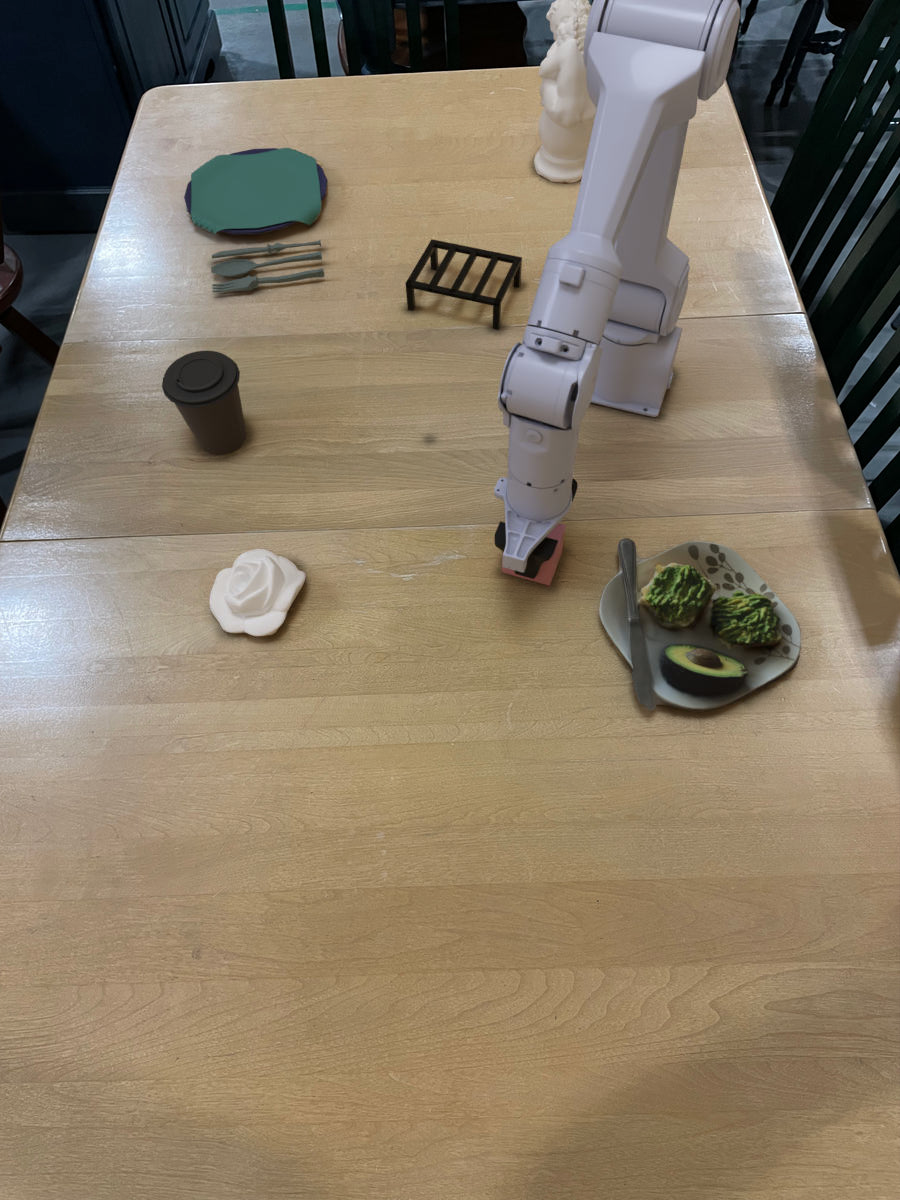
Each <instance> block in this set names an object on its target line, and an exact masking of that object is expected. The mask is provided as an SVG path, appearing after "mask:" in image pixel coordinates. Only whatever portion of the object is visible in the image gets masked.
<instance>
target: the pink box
mask: <svg viewBox="0 0 900 1200" xmlns="http://www.w3.org/2000/svg"><path fill="white" fill-rule="evenodd" d="M566 527H567V526H566V524H563V523H561V522H560V523H559V524H558V525H557V526H556V527H555V528H554V529H553V530H552V531H551V532H550V533H549V534H548V535H547V536H546V537H548V538H551V539H555V540H558V543H557V546H556V548H555V551H554V554H553V555H552V557H551V558H550V560H548V561H545V562H544V563H542V565H541V567H540V569H539V572H538V574H537V576H536V577H535V578H534V579H531V578H528V577H524V576H521V575H517V574H515V572H514V570H511V569H508V568H505V567H503V566H502V565H503V557H502V561H501V562H502V563H501V573H502V574H506V575H510V576H514V577H517V578H521V579H524V580H528V581H532V582H535V583H539V584H542V585H546V586H549V587H550V586H551V584H552V582H553V578H554V575H555V573H556V570H557V568H558V564H559V561H560V559H561V556H562V553H563V549H564V540H565V534H566ZM503 553H504V552H503V551H502V554H503Z"/></svg>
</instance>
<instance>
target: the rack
mask: <svg viewBox="0 0 900 1200" xmlns="http://www.w3.org/2000/svg"><path fill="white" fill-rule="evenodd" d="M424 249H425V250H424V251H423V252H422V255H421V256H420V257H419V259H418V261H417V263H416V265H414V267H413V270H411V271H412V272H411V273H410V274H409V276H408V278H407V280H405V293H406V304H407V305H406V306H407V311H412V312H414V311H415V309H416V308H417V307H416V294H415V290H418V291H422V292H427V293H431V294H436V295H440V296H446V297H450V298H455V299H460V300H464V301H469V302H472V303H478V304H484V305H487V306H492V329H493V330H497V331H500V328H501V324H502V323H501V322H502V302H503V301H504V298H505V296H506V294H507V292H508V290H509V288H510V286H511V284H512V287H513V288H516V289H520V287H521V285H522V268H523V267H522V266H523V257H521V256H518V255H514V254H513V255H511V254H506V253H502V252H497V251H493V250H487V249H482V248H477V247H473V246H468V245H462V244H459V243H452V242H447V241H443V240H437V239H433V238H431V239H430V241H429V243H428V244H427V246H426V248H424ZM438 249H440V250H444V251H447V252H446V253H445V255H444V257H443V259H442V261H441V262H440V264H439V253H438V252H439V251H438ZM456 253H459V254H464V255H468V257H467V258H466V260H465V262H464V264H463V266H462V268H461V269H460V271H459V273H458V275H457V276H456V279H455V280H454V282H453V283H452V286H451V287H445V286H440V285H439V283H440V282H441V280H442V278H443V276H444V275H445V273H446V271H447V270H448V267H449V266H450V264H451V262H452V261H453V258H454V257H455V256H456ZM479 257H480V258H483V259H489V262H488V263H487V265H486V267H485V270H484V271H483V273H482V275H481V277H480V279H479V281H478V283H477V285H476V286H475V289H474V290H473V291H472V292H469V291H466V290H465V291H464V290H460V289H461V288H462V285H463V283H464V281H465V280H466V278H467V276H468V274H469V272H470V270H471V269H472V267H473V265H474V263H475V261H476V259H477V258H479ZM429 260H430V270H431V271H435V273H434V275H433V276H432V278H431V279H430V281H429V283H427V282H423V281H418V278H419V276H420V275H421V273H422V271H423V270H424V268H425V266H426V265H427V263H428V261H429ZM498 262H504V263H508V264H511V265H510V268H509V269H508V271H507V273H506V276H505V277H504V279H503V281H502V283H501V285H500V286H499V289H498V291H497V293H496V295H495V297H493V296H489V295H484V294H482V293H483V291H484V289H485V287H486V286H487V284H488V281H489V280H490V278H491V277H492V275H493V272H494V270H495V268H496V266H497V265H498Z"/></svg>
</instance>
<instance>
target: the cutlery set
mask: <svg viewBox="0 0 900 1200" xmlns="http://www.w3.org/2000/svg"><path fill="white" fill-rule="evenodd" d="M327 187H328V178H327V176H326V174H325V172H324V169H323V167H322V166H321V165H319V164H318V163H317V158H315V157H313V156H312V155H308V154H307V153H303V152H302V151H299V150H297V149H295V148H294V149H293V148H291V147H281V148H280V147H279V148H276V147H268V148H267V147H266V148H251V149H246V150H241V151H236V152H232V153H230V154H219V155H216V156H214V157H213V158H211V159H210V160H208V161H206V162H205V163H204V164H202V165H201V166H199V167H198V168H196V169H195V170H194V171H193V172H191V173H190V180H189V182H188V183H187V185H186V189H185V192H184V196H183V198H184V202H185V207H186V210H187V212H188V213H189V214H190V217H191V220H192V222H193V224H194V225H195V226H197V227H198V228H202V229H203V230H206V231H208V232H209V233H211V234H213V235H216V234H217V232H220V233H227V234H232V235H259V234H264V233H269V232H272V231H273V232H274V231H279V230H282V229H284V228H287V227H289V226H291V225H294V224H296V223H298V222H301V223H303V224H305V225H308V226H311V225H312V224H313V223H314V222H315V221H316V220H317V219H318V218H319V216H320V214H321V211H322V201H323V200H324V198H325V197H326V193H327ZM266 245H267V246H258V247H257V246H256V247H245V248H235V249H228V250H221V251H218V252H215V253H213V254H212V255H211V258H212V259H213V260H214V259H219V258H221V259H222V258H228V257H229V258H230V257H235V256H236V257H237V256H244V255H252V254H260V253H267V254H268V255H269V256H271V253H273V252H276V253H279V252H281V251H284V250H286V249H292V248H299V247H308V246H309V247H310V246H319V247H322V242H321V239H319V240H315V241H309V242H301V243H299V242H298V243H297V242H296V243H295V242H294V243H286V244H285V243H279V242H275V243H274V244H273V245H271V244H270V243H267V244H266ZM322 260H323V254H322V251H316V252H310V253H304V254H297V255H291V256H286V257H282V258H278V259H274V260H269V261H264V262H261V263H256V262H255V261H252V260H249V259H247V258H232V259H228V260H224V261H220V262H218V263H216V264H214V265H213V266H210V273H212V274H214V275H217V276H221V277H223V278H237V279H233V280H229V281H225V282H221V283H212V284H211V285H212V287H211V288H212V290H211V291H212V293H216V294H217V293H219V294H221V293H228V292H245V291H251V290H254V289H256V288H258V287H259V285H261V284H282V283H290V282H297V281H302V280H307V279H314V278H315V279H316V278H325V276H326V275H325V270H324V268H322V267H321V268H317V269H311V270H304V271H300V272H296V273H291V274H286V275H285V274H284V275H280V276H265V277H264V276H263V277H258V276H257V275H255V276H253V277H252V276H250V275H249V274H248V273H250V272H251V271H253V270H256V269H260V268H264V267H265V268H266V267H270V266H278V265H283V264H287V263H288V264H289V263H297V262H298V263H299V262H306V261H322ZM247 274H248V275H247ZM245 275H247V276H245ZM242 276H245V277H242ZM238 277H242V278H238Z"/></svg>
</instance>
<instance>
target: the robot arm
mask: <svg viewBox="0 0 900 1200" xmlns="http://www.w3.org/2000/svg"><path fill="white" fill-rule="evenodd" d="M591 6H592V7H591V10H590V14H589V18H588V22H587V27H586V33H585V40H584V52H583V56H584V64H585V67H586V83H587V91H588V94H589V97H590V99H591V101H592V102H593V104H594V105H595V107H596V108H597V110H596V114H595V119H594V124H593V128H592V133H591V138H590V142H589V147H588V151H587V156H586V161H585V165H584V170H583V175H582V179H581V180H580V183H579V184H580V185H579V189H578V193H577V198H576V203H575V206H574V207H575V208H574V212H573V217H572V220H571V226H570V231H569V232H568V233H567V234H566V235H564V236H563V237H561V238H560V239H559V240H558V241H556V242H555V243H553V244H552V245H551V246H550V247H549V248H548V251H547V254H546V258H545V262H544V265H543V268H542V271H541V275H540V279H539V282H538V285H537V289H536V292H535V295H534V299H533V303H532V306H531V309H530V313H529V316H528V319H527V323H526V326H525V330H524V333H523V336H522V341H521V342H516V343H515V344H514V345H513V347H512V348H511V350H510V351H509V353H508V355H507V356H506V357H507V358H506V360H505V363H504V365H503V369H502V372H501V377H500V380H499V381H500V382H499V387H498V395H497V407H498V410H499V411H500V412H501V413H502V424H503V425H504V426H506V428H507V429H508V449H507V473H506V474H507V475H506V477H504V476H503V477H500V478H498V479H497V482H496V484H495V486H494V489H493V496H494V498H496V499H498V500H502V501H503V504H504V506H503V507H504V521H499V523H498V525H497V527H496V530H495V533H494V536H493V538H494V540H493V541H494V546H495V547H496V548H497V549H498V550H500V551H501V552H502V558H503V565H502V564H501V567H502V566H503V567H505V568H508V569H511V570H514V572H515V574H517V575H521V576H524V577H528V578H531V579H534V578H535V577H536V576H537V574H538V572H539V569H540V567H541V565H542V563H544V562H545V561H548V560H550V558H551V557H552V555H553V554H554V551H555V548H556V546H557V543H558V540H555V539H551V538H548V537H546V536H547V535H548V534H549V533H550V532H551V531H552V530H553V529H554V528H555V527H556V526H557V525H558V524H559V523H560V524H561V522H562V521H563V520H564V519H565V517H566V516H567V515H568V514H569V512H570V510H571V507H572V503H573V501H574V499H575V496H576V494H577V491H578V487H579V483H578V481H577V480H576V479H575V478H574V472H575V466H576V458H577V451H578V444H579V443H578V442H579V437H580V428H581V423H582V421H583V420H584V418H585V417H586V414H587V412H588V410H589V408H590V405H591V403H592V404H595V405H596V404H597V405H600V406H604V407H609V408H612V409H616V410H617V409H618V410H621V411H624V412H625V411H626V412H630V413H634V414H638V415H643V416H647V417H651V418H657V417H658V416H659V414H660V411H661V409H662V405H663V402H664V398H665V395H666V392H667V389H668V390H669V389H670V388H671V385H672V382H673V378H674V375H675V373H674V371H673V368H674V364H675V360H676V356H677V353H678V350H679V346H680V341H681V338H682V332H683V328H682V327H680V326H678V325H677V323H678V321H679V319H680V315H681V311H682V309H683V306H684V303H685V300H686V296H687V293H688V288H689V273H690V269H691V266H690V264H689V262H690V258H689V256H688V255H687V254H686V253H685V252H684V251H682V250H681V249H680V248H679V247H678V246H677V245H676V244H675V243H673V241H671V239H669V238H668V233H669V227H670V222H671V216H672V212H673V206H674V203H675V202H674V201H675V196H676V191H677V186H678V180H679V175H680V169H681V165H682V160H683V154H684V149H685V143H686V139H687V133H688V128H689V123H690V120H692V119H693V118H695V116H696V114H697V107H698V100H701V101H703V102H706V101H708V100H709V99H711V98H712V97H713V96H714V95H715V94H716V93H717V92H718V91H719V89H720V88H721V87H723V85H724V84H725V81H726V78H727V75H728V73H729V68H730V63H731V59H732V54H733V50H734V46H735V41H736V38H737V33H738V28H739V24H740V17H741V6H740V4H739V2H738V0H593V1H592V4H591ZM503 552H504V553H503Z"/></svg>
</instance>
